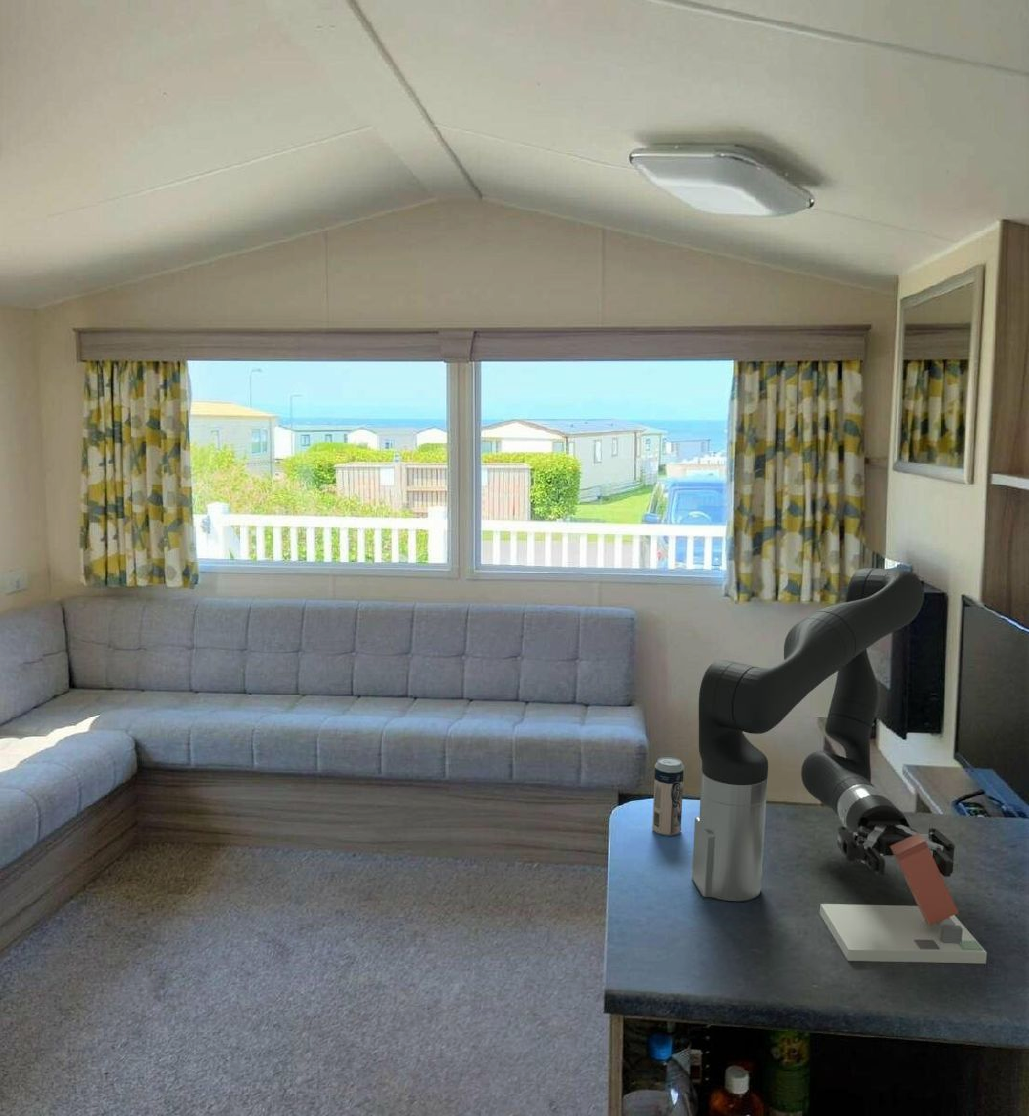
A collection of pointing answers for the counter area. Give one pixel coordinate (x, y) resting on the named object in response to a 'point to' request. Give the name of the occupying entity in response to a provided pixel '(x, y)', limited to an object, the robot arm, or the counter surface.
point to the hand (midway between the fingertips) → (915, 869)
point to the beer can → (668, 796)
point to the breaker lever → (925, 880)
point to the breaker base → (898, 935)
